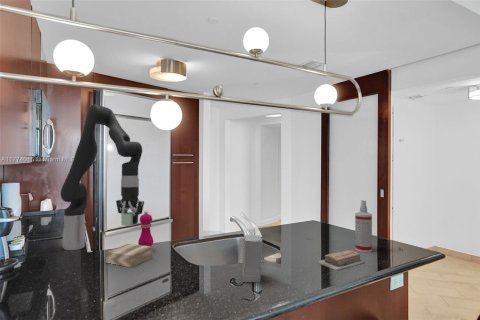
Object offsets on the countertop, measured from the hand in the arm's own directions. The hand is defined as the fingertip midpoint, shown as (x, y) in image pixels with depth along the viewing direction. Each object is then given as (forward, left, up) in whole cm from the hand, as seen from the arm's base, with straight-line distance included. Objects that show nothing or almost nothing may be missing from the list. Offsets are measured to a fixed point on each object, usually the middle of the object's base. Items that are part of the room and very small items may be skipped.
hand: (130, 223), depth 135 cm
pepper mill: (-2, +14, -17) cm, 22 cm away
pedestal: (0, 0, -17) cm, 17 cm away
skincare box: (+58, -1, -17) cm, 60 cm away
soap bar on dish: (+90, +29, -17) cm, 96 cm away
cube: (0, 0, 0) cm, 0 cm away
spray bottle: (+100, +53, -17) cm, 114 cm away
